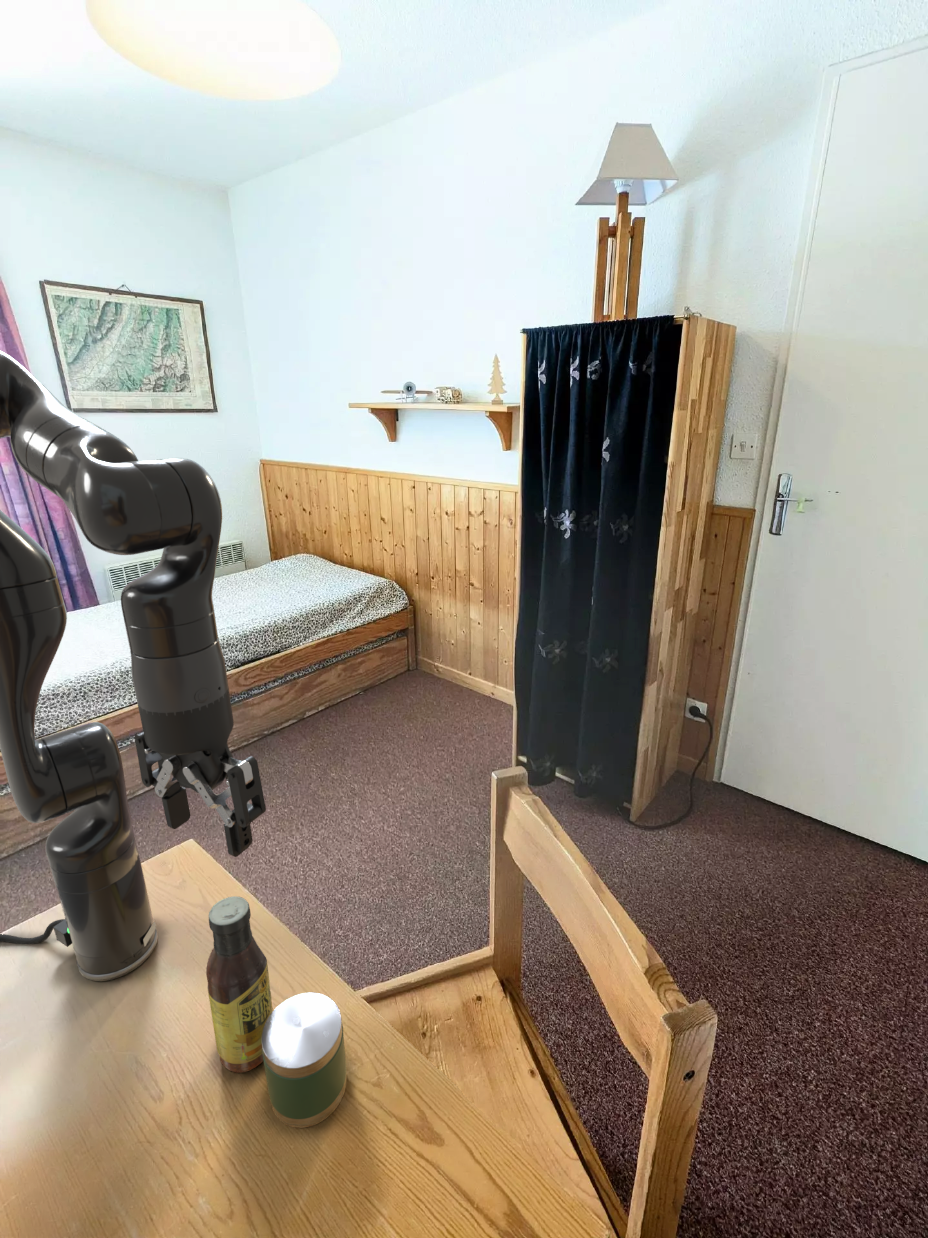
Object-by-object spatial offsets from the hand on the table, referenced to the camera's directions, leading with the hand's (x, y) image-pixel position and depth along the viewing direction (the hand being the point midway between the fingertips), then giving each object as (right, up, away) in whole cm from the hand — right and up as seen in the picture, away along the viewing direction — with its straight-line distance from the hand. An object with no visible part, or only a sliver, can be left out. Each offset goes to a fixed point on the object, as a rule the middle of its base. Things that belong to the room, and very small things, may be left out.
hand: (209, 836), depth 60 cm
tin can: (+8, -29, +6) cm, 31 cm away
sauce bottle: (+1, -28, +10) cm, 29 cm away
